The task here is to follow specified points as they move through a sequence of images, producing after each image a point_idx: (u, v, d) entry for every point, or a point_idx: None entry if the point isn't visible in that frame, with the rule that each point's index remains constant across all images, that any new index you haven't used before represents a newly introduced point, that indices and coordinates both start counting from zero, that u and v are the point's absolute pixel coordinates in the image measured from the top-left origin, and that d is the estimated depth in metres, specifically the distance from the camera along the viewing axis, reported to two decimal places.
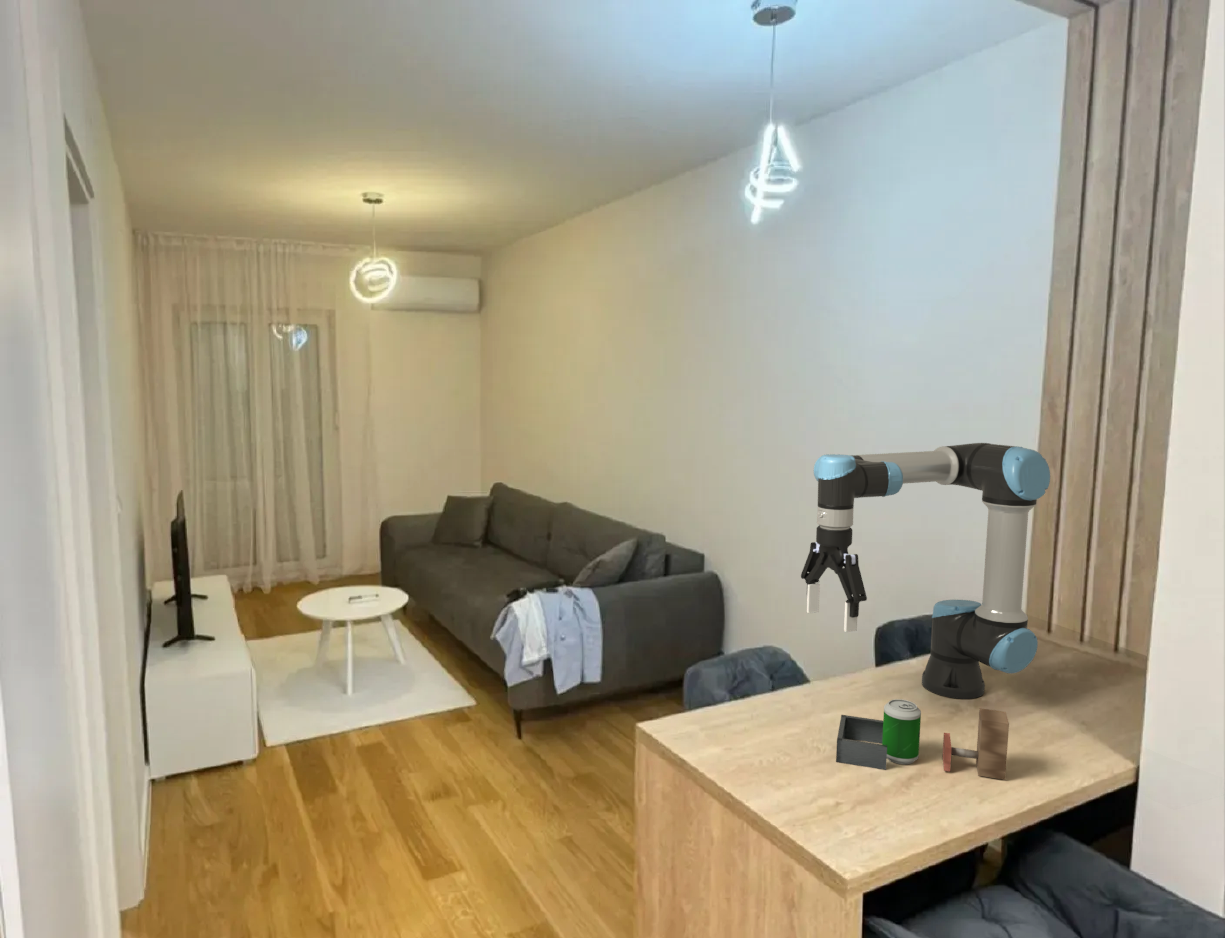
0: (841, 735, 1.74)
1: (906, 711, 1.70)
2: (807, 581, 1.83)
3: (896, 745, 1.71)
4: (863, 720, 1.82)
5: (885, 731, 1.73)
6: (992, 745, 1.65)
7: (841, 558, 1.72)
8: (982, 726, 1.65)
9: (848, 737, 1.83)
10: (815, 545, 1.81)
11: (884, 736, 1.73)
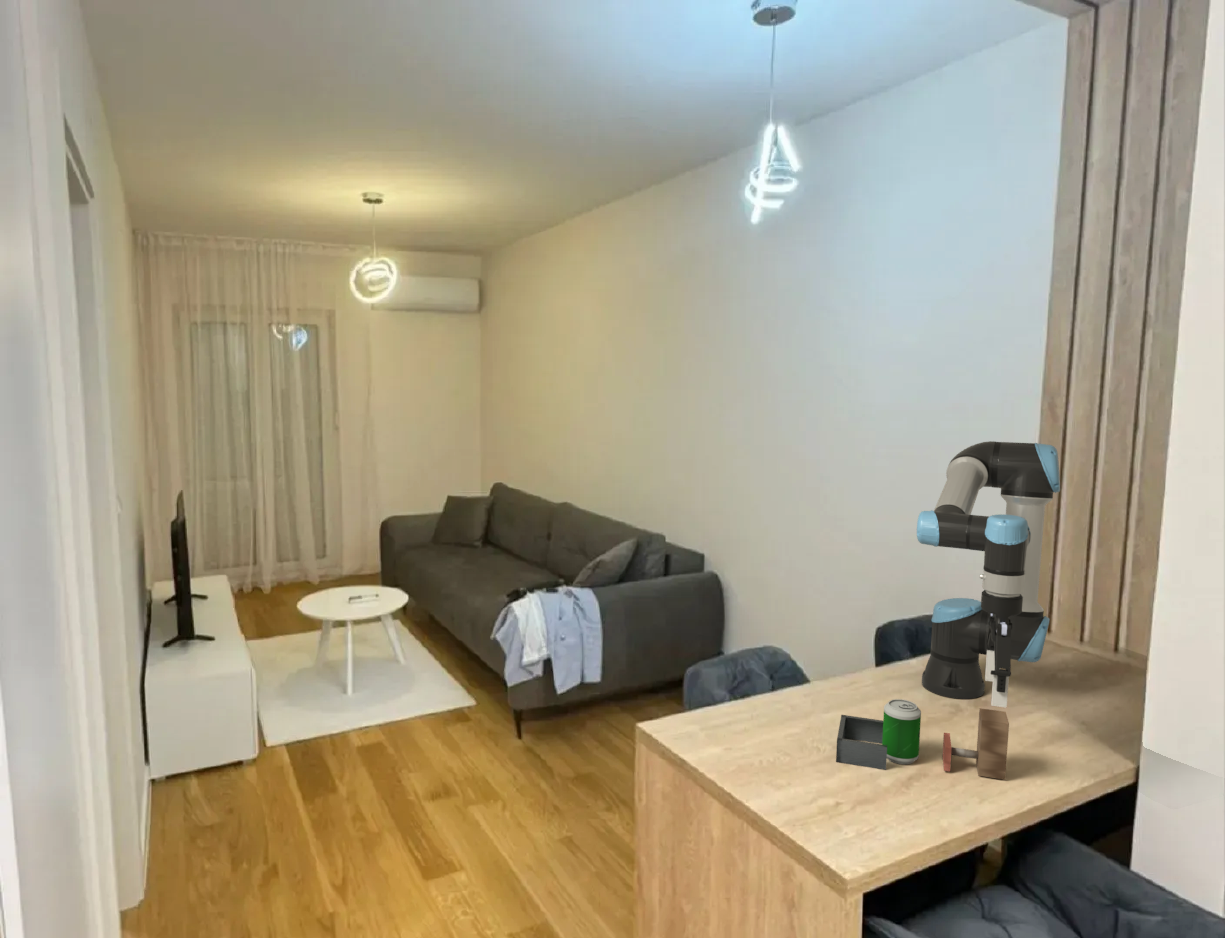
0: (841, 735, 1.74)
1: (906, 711, 1.70)
2: (987, 646, 1.72)
3: (896, 745, 1.71)
4: (863, 720, 1.82)
5: (885, 731, 1.73)
6: (992, 745, 1.65)
7: None
8: (982, 726, 1.65)
9: (848, 737, 1.83)
10: None
11: (884, 736, 1.73)
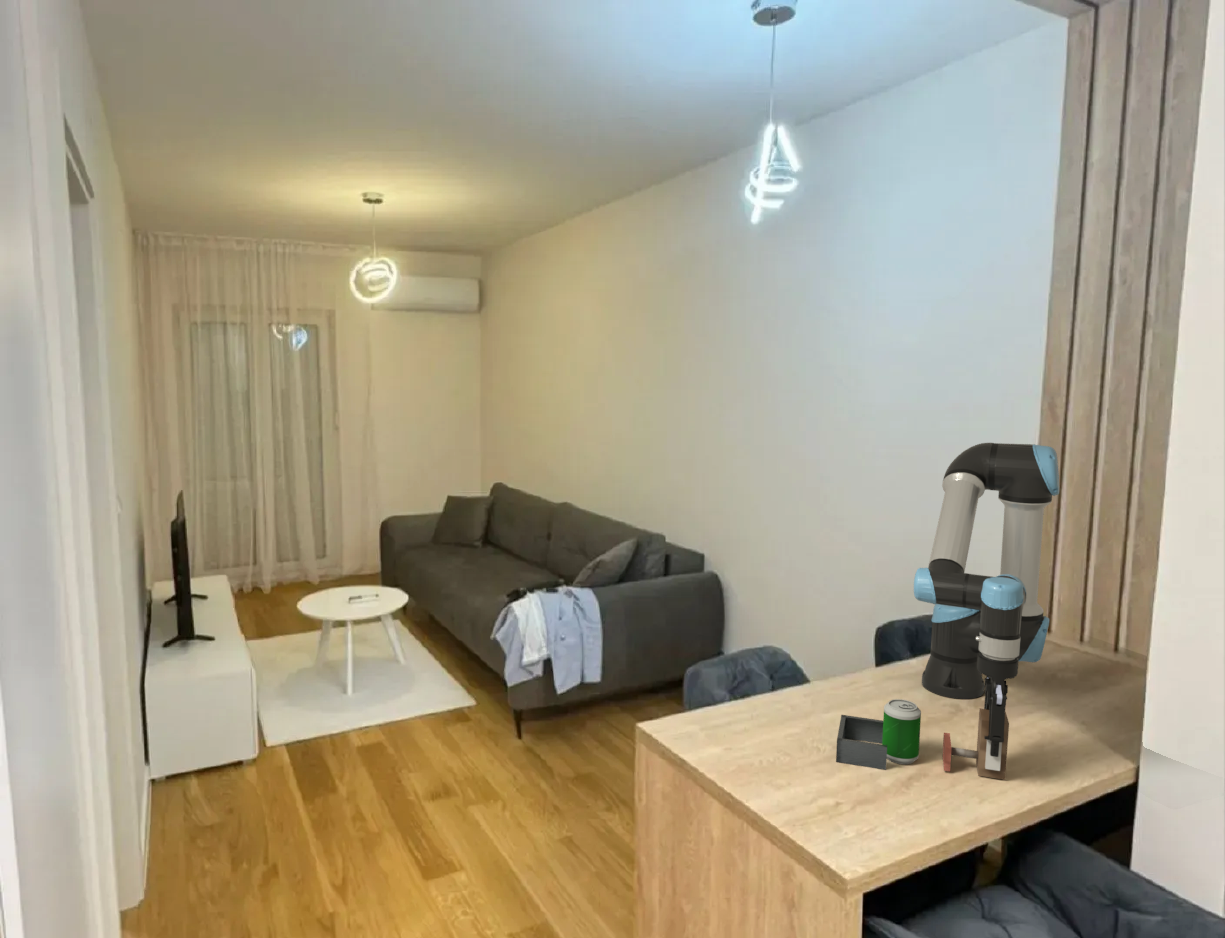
0: (841, 735, 1.74)
1: (906, 711, 1.70)
2: None
3: (896, 745, 1.71)
4: (863, 720, 1.82)
5: (885, 731, 1.73)
6: None
7: (993, 691, 1.63)
8: (982, 726, 1.65)
9: (848, 737, 1.83)
10: None
11: (884, 736, 1.73)
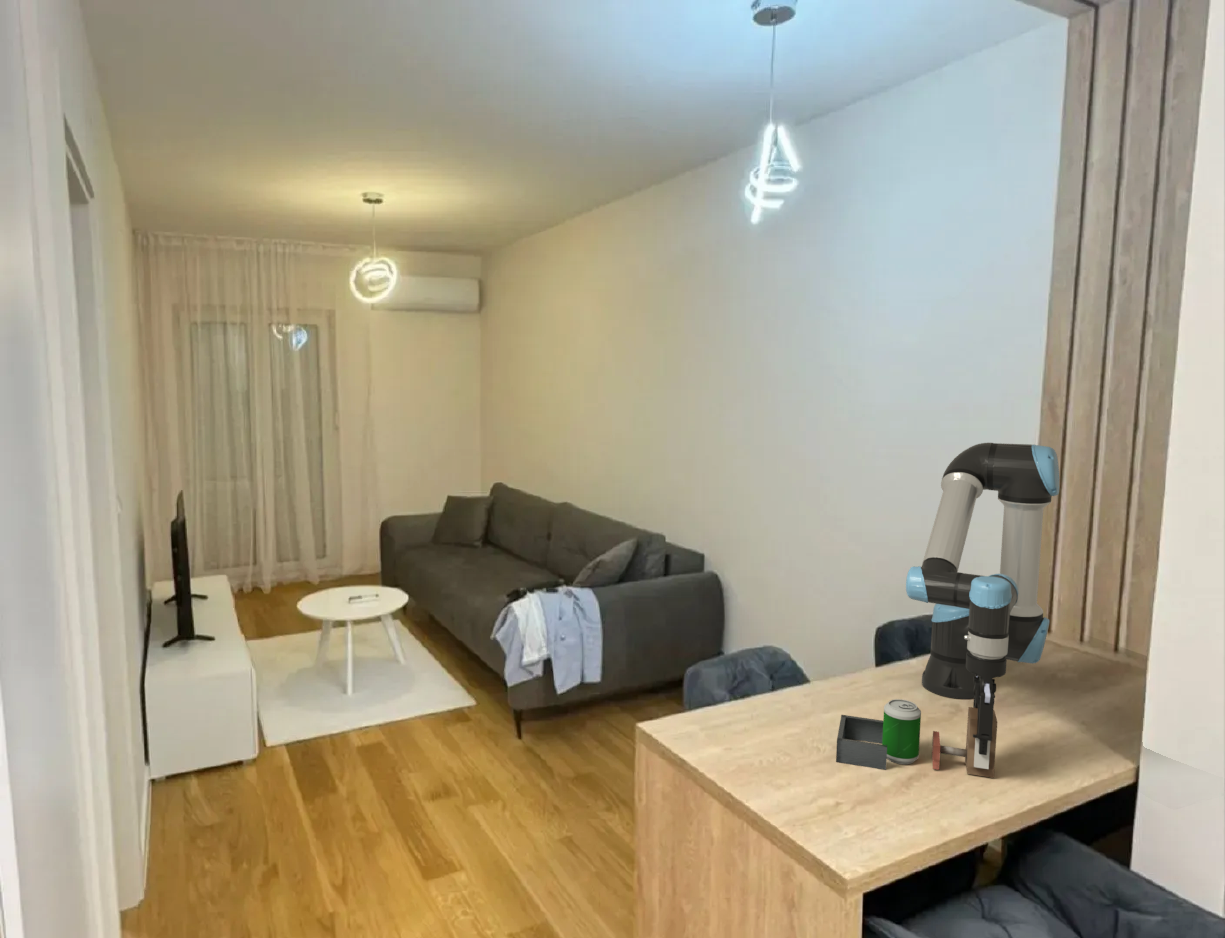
0: (841, 735, 1.74)
1: (906, 711, 1.70)
2: None
3: (896, 745, 1.71)
4: (863, 720, 1.82)
5: (885, 731, 1.73)
6: None
7: (981, 689, 1.63)
8: (971, 724, 1.66)
9: (848, 737, 1.83)
10: None
11: (884, 736, 1.73)
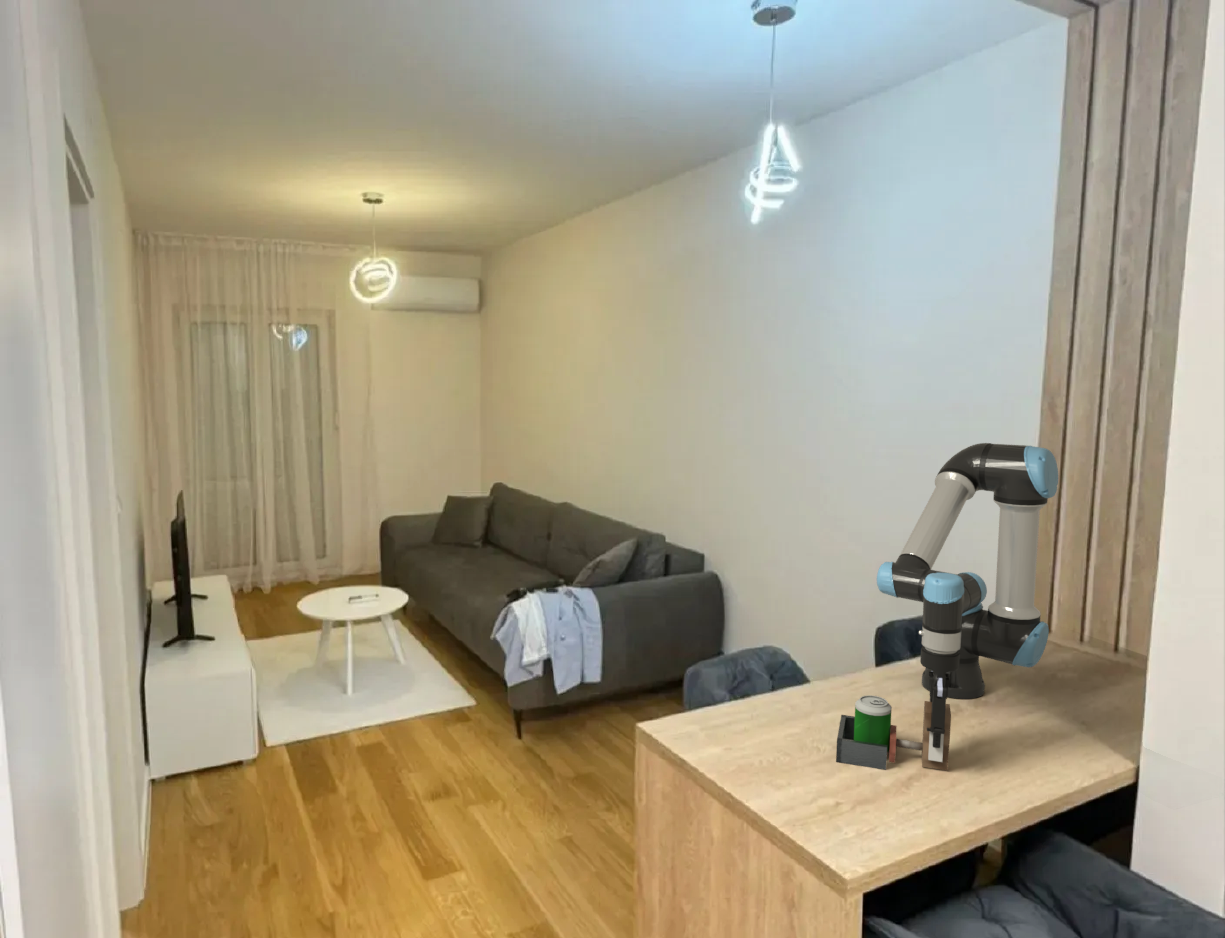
0: (841, 735, 1.74)
1: (877, 707, 1.72)
2: None
3: (867, 741, 1.73)
4: None
5: (856, 727, 1.75)
6: None
7: (934, 683, 1.66)
8: (925, 718, 1.69)
9: (848, 737, 1.83)
10: None
11: (855, 732, 1.75)
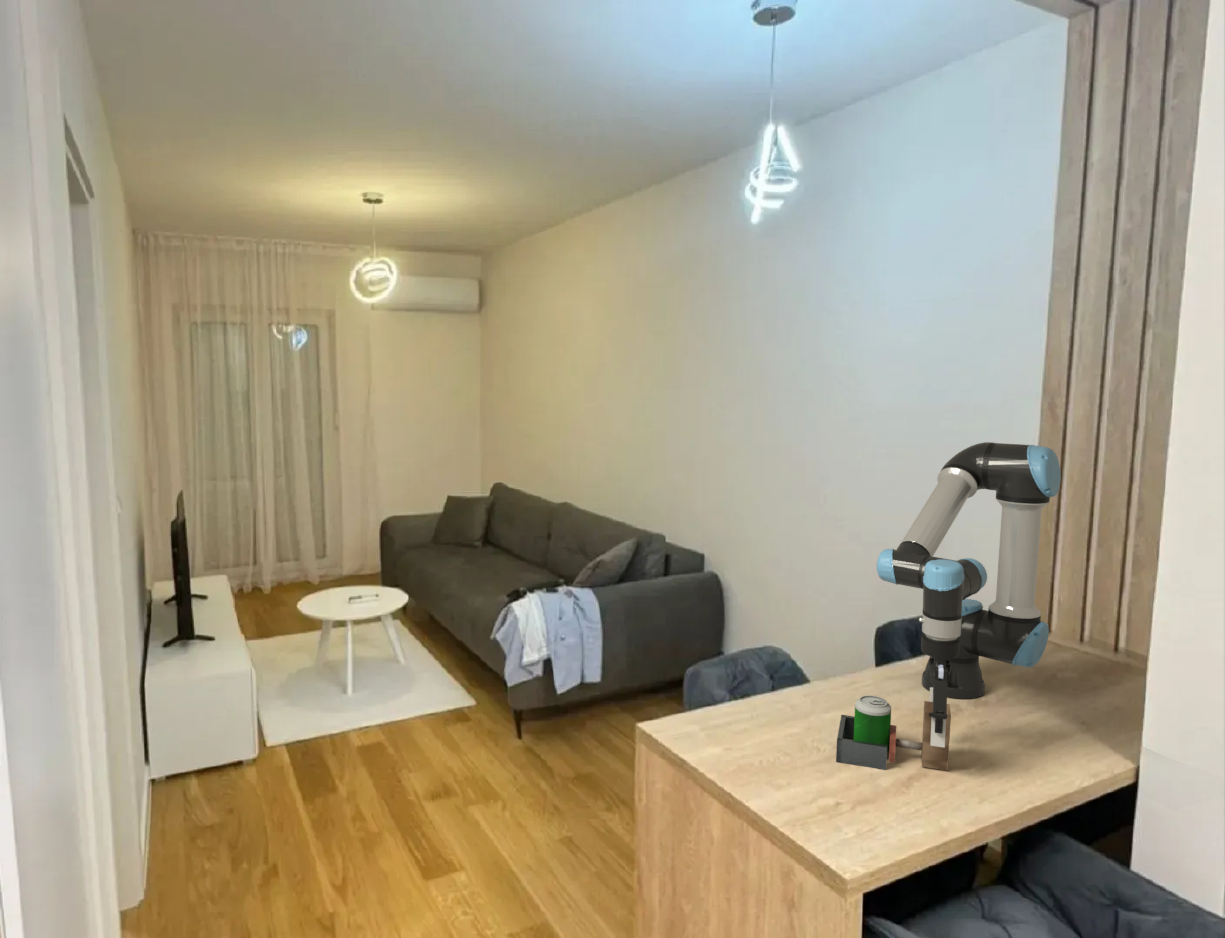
0: (841, 735, 1.74)
1: (876, 707, 1.72)
2: (930, 684, 1.78)
3: (867, 741, 1.73)
4: None
5: (856, 727, 1.75)
6: None
7: None
8: (925, 718, 1.69)
9: (848, 737, 1.83)
10: None
11: (855, 732, 1.75)
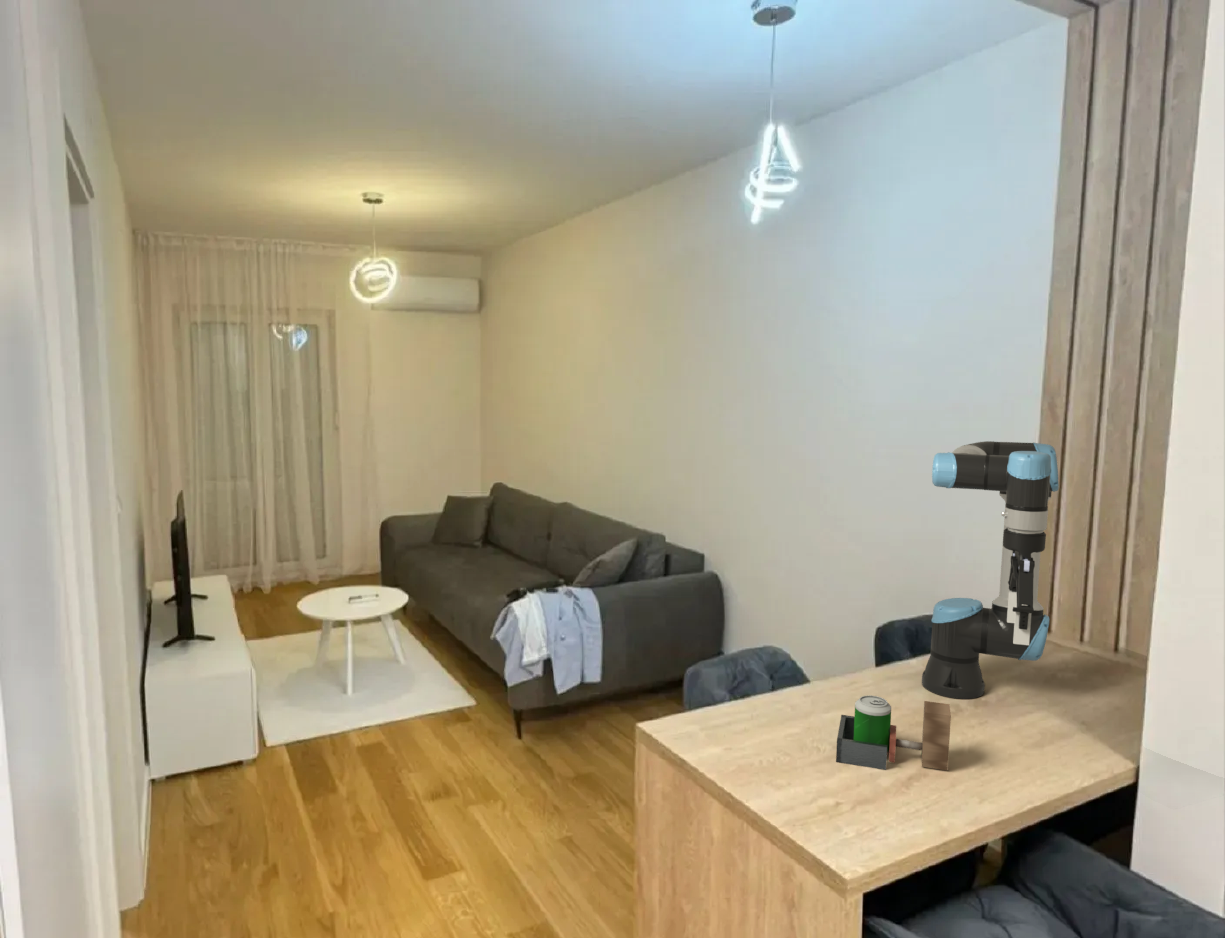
0: (841, 735, 1.74)
1: (876, 707, 1.72)
2: (1009, 588, 1.70)
3: (867, 741, 1.73)
4: None
5: (856, 727, 1.75)
6: (935, 736, 1.68)
7: None
8: (925, 718, 1.69)
9: (848, 737, 1.83)
10: None
11: (855, 732, 1.75)
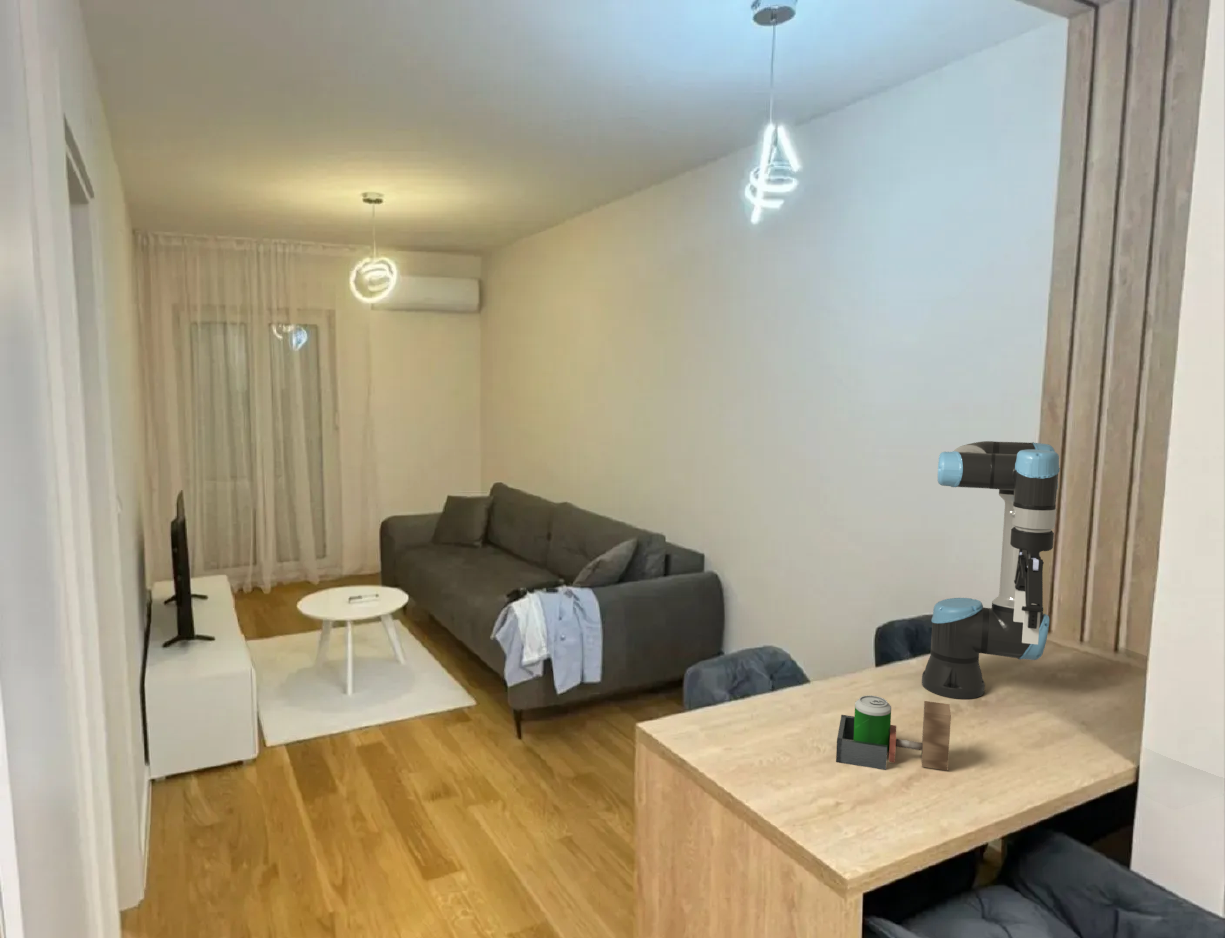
0: (841, 735, 1.74)
1: (876, 707, 1.72)
2: (1015, 587, 1.69)
3: (867, 741, 1.73)
4: None
5: (856, 727, 1.75)
6: (935, 736, 1.68)
7: (1028, 562, 1.57)
8: (925, 718, 1.69)
9: (848, 737, 1.83)
10: None
11: (855, 732, 1.75)
